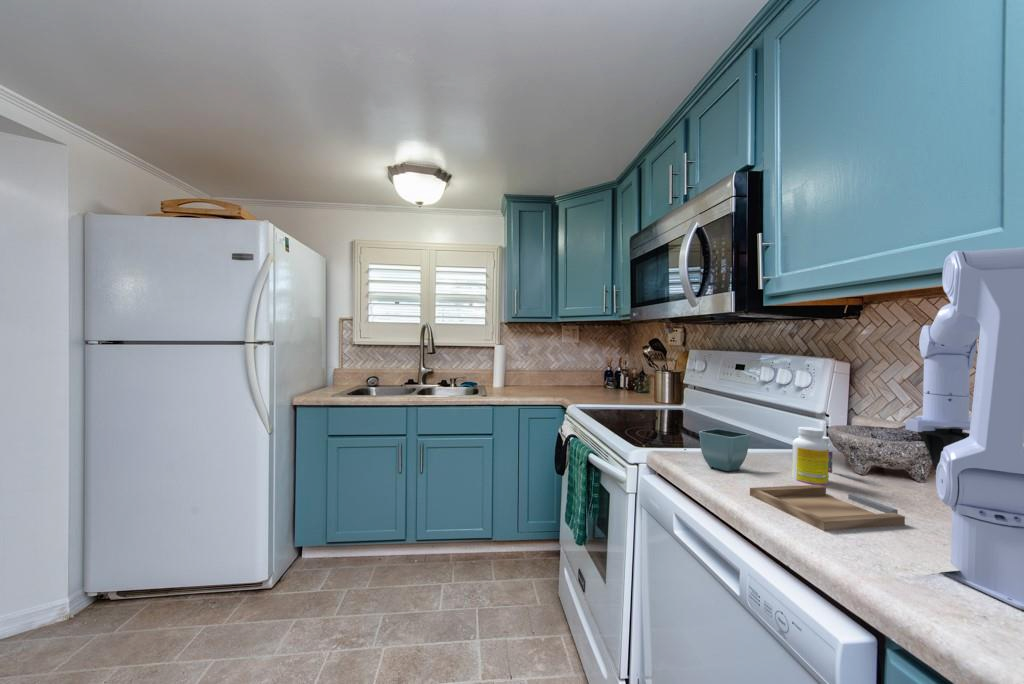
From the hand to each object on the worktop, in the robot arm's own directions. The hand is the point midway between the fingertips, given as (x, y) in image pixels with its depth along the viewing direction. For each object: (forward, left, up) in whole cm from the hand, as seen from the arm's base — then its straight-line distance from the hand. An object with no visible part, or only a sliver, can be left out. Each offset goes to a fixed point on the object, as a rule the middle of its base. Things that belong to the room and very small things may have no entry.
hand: (943, 471), depth 75 cm
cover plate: (+6, +5, -10) cm, 12 cm away
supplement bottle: (+21, +6, -10) cm, 24 cm away
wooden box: (+6, +19, -9) cm, 22 cm away
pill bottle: (+30, -6, -10) cm, 32 cm away
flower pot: (+36, +16, -10) cm, 41 cm away
